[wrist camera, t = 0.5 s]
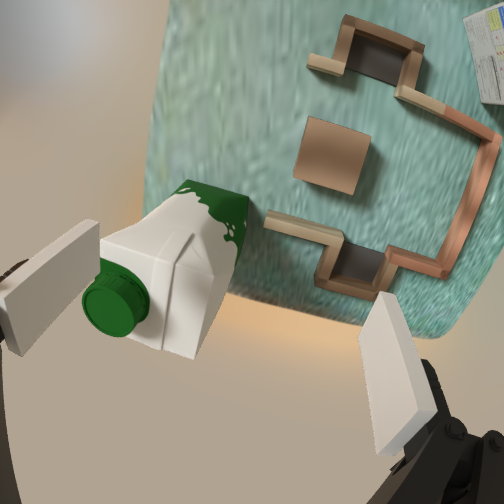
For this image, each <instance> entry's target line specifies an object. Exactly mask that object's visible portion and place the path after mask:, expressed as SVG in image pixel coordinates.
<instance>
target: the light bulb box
mask: <svg viewBox="0 0 504 504" xmlns="http://www.w3.org/2000/svg"><path fill="white" fill-rule="evenodd" d="M462 19H463V22H464V26H465V29H466V33H467V37H468V40H469V44H470V48H471V53H472V57H473V61H474V66H475V71H476V76H477V81H478V87H479V93H480V99H481V103H485V104H496V105H504V2H501V3H498V4H496V5H493V6H491V7H488V8H486V9H483V10H481V11H479V12H476V13H474V14H471V15H469V16H466V17H464V18H462Z"/></svg>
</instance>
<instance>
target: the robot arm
mask: <svg viewBox="0 0 504 504" xmlns="http://www.w3.org/2000/svg"><path fill="white" fill-rule="evenodd" d="M99 250H100V249H99V222H97V221H93V220H89V219H85V220H84V221H82V222H81V223H79V224H78V225H76V226H75V227H73V228H72V229H71V230H69V231H68V232H66V233H65V234H64V235H62V236H61V237H59V238H58V239H56V240H55V241H54V242H52V243H51V244H50V245H48V246H47V247H46V248H44V249H43V250H41V251H40V252H39V253H37V254H36V255H35V256H33V258H31V259H26V260H24V261H21V262H19V263H17V264H16V265H14V266H13V267H12V268H11V269H10V270H9V271H7V272H5V273H4V274H3V276H0V343H1V342H2V340H4V339H5V341H6V344H7V346H8V349H9V350H10V351H12V352H14V353H15V354H17V355H19V356H21V357H23V356H24V354H25V353H26V352H27V351H28V350H29V349H30V347H31V346H32V345H33V344H34V343H35V342H36V340H37V339H38V338H39V337H40V336H41V335H42V334H43V332H44V331H45V330H46V329H47V328H48V327H49V326H50V324H51V323H52V322H53V321H54V320H55V319H56V318H57V317H58V316H59V315H60V313H62V311H63V310H64V309H65V308H66V307H67V306H68V305H69V304H70V303H71V302H72V301H73V299H75V297H76V296H77V295H78V294H79V293H80V292H81V291H82V290H83V289H84V288H85V287H86V286H87V285H88V284H89V283H90V282H91V281H92V280H93V279H94V278H95V277H96V276H97V275H98V274H99V273H100V251H99ZM358 342H359V347H360V352H361V357H362V362H363V368H364V374H365V380H366V385H367V392H368V397H369V405H370V411H371V418H372V424H373V432H374V440H375V448H376V455H386V456H388V455H389V456H395V455H396V454H397V453H398V452H399V451H400V450H401V449H402V448H403V447H404V453H405V456H404V457H403V458H402V459H401V460H400V461H399V462H398V463H396V464H395V465H394V466H393V467H392V468H391V469H390V470H391V471H392V470H393V471H392V472H391V474H390V475H389V476H388V478H387V479H386V480H385V481H384V483H383V484H382V485H381V486H380V488H379V489H378V490H377V491H376V493H375V494H374V495H373V496H372V498H371V499H370V500H369V501H368V502H367V504H504V436H503V435H502V434H501V433H500V432H498V431H495V430H491V431H488V432H487V433H486V434H485V435H484V436H483V437H482V438H480V437H477V436H474V435H471V434H468V432H467V429H466V427H465V426H464V424H463V423H462V422H461V421H460V420H459V419H457V418H455V417H451V415H450V412H449V408H448V405H447V403H446V400H445V397H444V394H443V391H442V389H441V386H440V383H439V381H438V377H437V375H436V372H435V369H434V368H433V367H432V366H431V364H430V363H429V362H428V360H425V359H420V357H419V354H418V351H417V349H416V346H415V343H414V341H413V338H412V335H411V333H410V330H409V328H408V325H407V323H406V320H405V318H404V315H403V313H402V311H401V308H400V306H399V303H398V301H397V299H396V296H395V294H391V293H387V292H383V291H380V292H379V294H378V296H377V299H376V301H375V303H374V305H373V307H372V309H371V311H370V313H369V315H368V317H367V320H366V322H365V324H364V326H363V328H362V330H361V332H360V334H359V335H358ZM0 504H22V503H21V499H20V496H19V492H18V488H17V483H16V479H15V474H14V470H13V465H12V460H11V454H10V448H9V442H8V435H7V428H6V419H5V411H4V399H3V381H2V349H1V345H0Z"/></svg>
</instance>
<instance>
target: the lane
mask: <svg viewBox="0 0 504 504" xmlns="http://www.w3.org/2000/svg"><path fill="white" fill-rule="evenodd" d="M345 65H346V63H342V62H339V61H336V60H333V59H330V58H326V57H323V56H319V55H316V54H312V53H310V55H309V58H308V62H307V66H306V67H307V68H311V69H314V70H318V71H321V72H325V73H328V74H331V75H335V76H338V77H340V76H342V75H343V73H344V69H345ZM394 97H396V98H399V99H401V100H403V101H406V102H408V103H410V104H413V105H415V106H417V107H420V108H422V109H424V110H426V111H428V112H431V113H433V114H435V115H437V116H439V117H441V118H443V119H445V120H447V121H449V122H451V123H453V124H455V125H457V126H459V127H461V128H463V129H465V130H467V131H469V132H470V133H472V134H474V135H476V136H478V137H479V138H481V142H480V146H479V149H478V152H477V155H476V159H475V162H474V165H473V168H472V171H471V174H470V177H469V179H468V182H467V185H466V188H465V191H464V193H463V196H462V199H461V201H460V204H459V206H458V209H457V211H456V214H455V216H454V219H453V221H452V224H451V226H450V228H449V231H448V233H447V235H446V238H445V240H444V242H443V244H442V247H441V249H440V251H439V253H438V255H437V257H436V260H435V259H432V258H429V257H426V256H423V255H420V254H417V253H414V252H410V251H407V250H404V249H401V248H398V247H395V246H392V245H389V244H388V246H387V248H386V251H385V253H384V254H385V256H386V257H387V259H388V261H389V263H391V264H394V265H397V266H401V267H404V268H407V269H411V270H414V271H417V272H421V273H424V274H427V275H430V276H434V277H437V278H440V279H443V280H446V279H447V277H448V275H449V273H450V271H451V269H452V267H453V265H454V263H455V261H456V259H457V257H458V254H459V252H460V250H461V248H462V246H463V244H464V241H465V239H466V237H467V235H468V232H469V230H470V228H471V225H472V223H473V221H474V218H475V216H476V213H477V211H478V208H479V206H480V203H481V201H482V198H483V195H484V193H485V190H486V187H487V184H488V181H489V179H490V176H491V173H492V170H493V167H494V164H495V160H496V157H497V154H498V151H499V147H500V144H501V140H502V136H501V135H499V134H498V133H496V132H494V131H493V130H491V129H489V128H488V127H486V126H484V125H483V124H481V123H479V122H477V121H476V120H474V119H472V118H470V117H469V116H467V115H465V114H463V113H461V112H459V111H457V110H455V109H454V108H452V107H450V106H448V105H446V104H444V103H442V102H440V101H438V100H436V99H433V98H431V97H429V96H427V95H425V94H423V93H421V92H418V91H416V90H414V89H412V88H409V87H407V86H405V85H401V86H396V89H395V93H394ZM263 227H264V228H267V229H271V230H275V231H279V232H282V233H286V234H289V235H293V236H297V237H300V238H304V239H308V240H311V241H315V242H318V243H322V244H325V245H329V246H332V247H336V248H339V249H341V246H342V243H343V241H344V237H343V234H342V231H341V230H339V229H336V228H332V227H329V226H326V225H322V224H319V223H315V222H312V221H308V220H305V219H301V218H298V217H294V216H290V215H287V214H283V213H280V212H276V211H272V210H269V209H268V211H267V215H266V219H265V222H264V226H263Z"/></svg>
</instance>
